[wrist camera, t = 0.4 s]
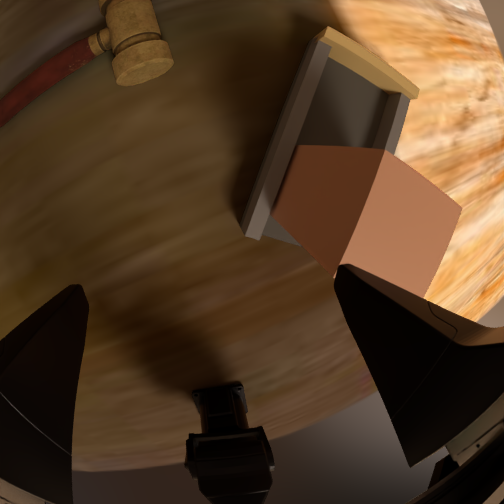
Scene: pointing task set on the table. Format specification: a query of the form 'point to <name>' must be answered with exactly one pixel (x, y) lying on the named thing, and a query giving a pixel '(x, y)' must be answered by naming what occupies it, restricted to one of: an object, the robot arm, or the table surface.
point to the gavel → (82, 52)
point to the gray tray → (329, 117)
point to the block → (366, 213)
